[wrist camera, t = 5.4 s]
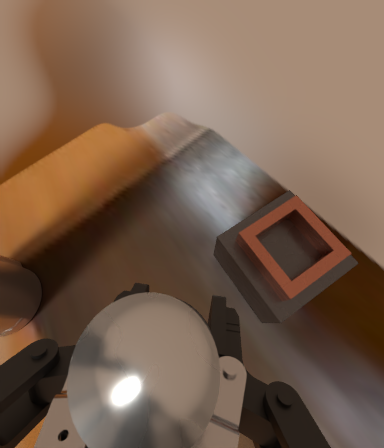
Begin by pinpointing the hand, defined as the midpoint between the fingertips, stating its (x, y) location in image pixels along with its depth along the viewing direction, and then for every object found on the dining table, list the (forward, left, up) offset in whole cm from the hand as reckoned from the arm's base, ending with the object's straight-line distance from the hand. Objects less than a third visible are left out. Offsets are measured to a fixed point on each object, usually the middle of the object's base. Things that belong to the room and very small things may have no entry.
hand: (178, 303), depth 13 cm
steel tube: (+1, -1, -7) cm, 7 cm away
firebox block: (+1, +13, -20) cm, 24 cm away
